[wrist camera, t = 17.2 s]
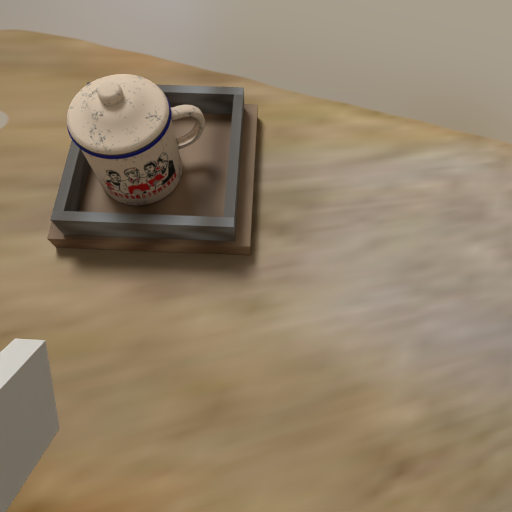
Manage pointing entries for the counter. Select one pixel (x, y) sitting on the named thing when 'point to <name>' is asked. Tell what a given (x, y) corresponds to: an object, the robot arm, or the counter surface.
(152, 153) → the teacup with lid
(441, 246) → the counter surface
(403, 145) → the counter surface
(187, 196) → the collar stand
